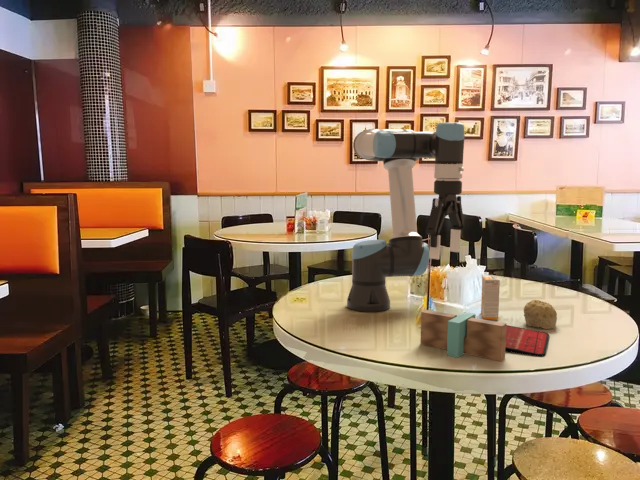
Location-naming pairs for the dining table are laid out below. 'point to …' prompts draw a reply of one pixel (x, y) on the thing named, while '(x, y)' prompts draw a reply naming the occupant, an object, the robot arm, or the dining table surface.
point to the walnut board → (479, 341)
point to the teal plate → (457, 334)
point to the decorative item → (540, 314)
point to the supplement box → (490, 297)
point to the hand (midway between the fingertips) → (444, 255)
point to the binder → (526, 341)
